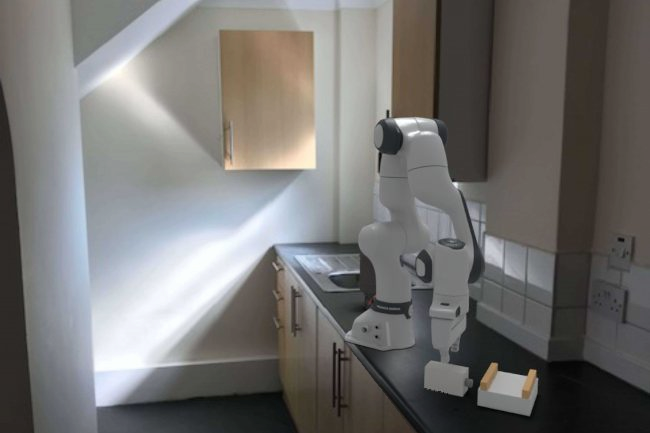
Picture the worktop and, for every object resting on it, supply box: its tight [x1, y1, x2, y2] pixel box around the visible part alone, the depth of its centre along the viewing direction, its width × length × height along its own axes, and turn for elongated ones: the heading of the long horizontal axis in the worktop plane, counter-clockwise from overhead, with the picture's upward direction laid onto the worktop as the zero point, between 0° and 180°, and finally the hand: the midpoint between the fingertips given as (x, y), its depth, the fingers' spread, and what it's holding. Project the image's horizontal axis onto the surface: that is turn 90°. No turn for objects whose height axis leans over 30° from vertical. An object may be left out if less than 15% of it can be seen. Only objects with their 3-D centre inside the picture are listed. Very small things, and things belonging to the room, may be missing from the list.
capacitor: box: [358, 250, 376, 311], centre depth 218 cm, size 14×14×30 cm
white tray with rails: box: [477, 362, 539, 417], centre depth 140 cm, size 12×14×6 cm
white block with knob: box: [423, 360, 474, 398], centre depth 146 cm, size 12×5×6 cm, turn 61°
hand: (450, 356), depth 145 cm, fingers open, 8 cm apart
